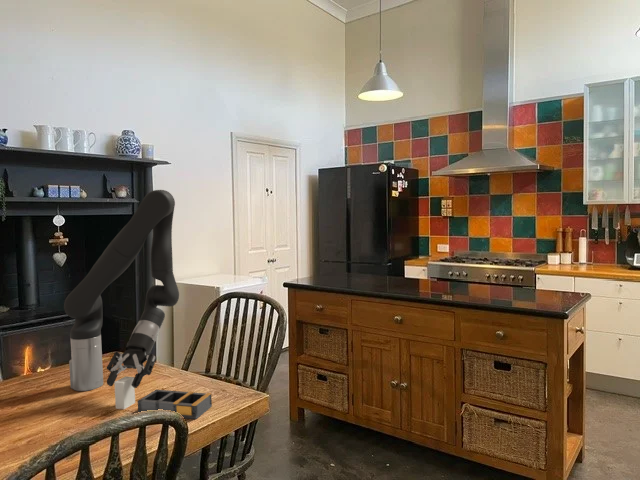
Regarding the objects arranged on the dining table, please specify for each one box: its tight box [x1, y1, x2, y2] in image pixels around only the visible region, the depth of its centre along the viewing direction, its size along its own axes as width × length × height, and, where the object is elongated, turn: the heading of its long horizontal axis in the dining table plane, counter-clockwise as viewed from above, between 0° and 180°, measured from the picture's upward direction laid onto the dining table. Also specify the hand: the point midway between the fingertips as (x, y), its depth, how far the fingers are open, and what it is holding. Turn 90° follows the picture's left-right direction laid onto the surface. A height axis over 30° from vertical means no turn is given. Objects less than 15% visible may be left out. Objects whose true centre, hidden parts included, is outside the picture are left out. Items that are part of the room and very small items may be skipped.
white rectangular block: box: [113, 376, 136, 410], centre depth 141 cm, size 3×5×8 cm, turn 165°
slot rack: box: [137, 389, 213, 420], centre depth 136 cm, size 19×9×4 cm, turn 75°
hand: (121, 385), depth 139 cm, fingers open, 8 cm apart
